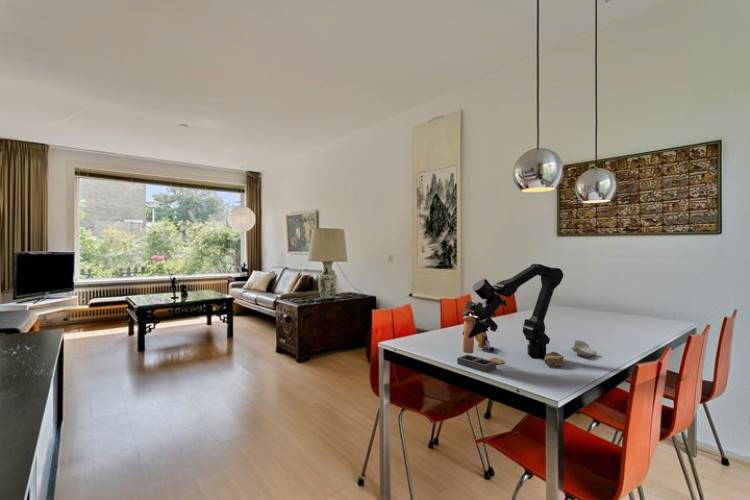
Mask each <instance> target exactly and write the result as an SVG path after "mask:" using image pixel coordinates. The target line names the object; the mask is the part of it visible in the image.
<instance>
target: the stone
mask: <svg viewBox="0 0 750 500" xmlns="http://www.w3.org/2000/svg"><path fill="white" fill-rule="evenodd" d="M543 362H544V364H545V365H547V366H548V367H549V368H556V367H561V366H562V365H563V364H564V355H562V354H560V353H559V352H557V351H551V352H548V353H547V352H546V355H545V357H544V358H543Z"/></svg>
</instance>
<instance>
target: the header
mask: <svg viewBox="0 0 750 500" xmlns="http://www.w3.org/2000/svg"><path fill="white" fill-rule="evenodd" d="M456 359H457V362H456V363H457V365H460V366H462V367H466V368H470V369H474V370H476V371H480V372H482V373H483V372H484V373H488V372H491V371H494V370H496V369H497V365H496V362H494V361H490V360H487V359H485V358H482V357H479V356H475V355H471V354H464V355H462V356H459V357H457V358H456Z"/></svg>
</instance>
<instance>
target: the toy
mask: <svg viewBox="0 0 750 500" xmlns="http://www.w3.org/2000/svg"><path fill="white" fill-rule="evenodd" d="M474 340H475V341H476V342H478V345H477V346H478V350H479V349H481V348H482V349H483V350H485V348H486V347H487V349H488V350H489V351H488V352H494V351H495V350H496V349H495V347H494V346H491V345H490V344H491V343H490V341H489V338H488V335H487V331H486V332H483V333H481V334H478V335H476V336H474Z"/></svg>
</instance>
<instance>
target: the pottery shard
mask: <svg viewBox="0 0 750 500" xmlns="http://www.w3.org/2000/svg"><path fill="white" fill-rule="evenodd" d="M573 342H574V344H573V346H571V347H570V349H571V350H572V351H573V352H574V353H576V354H577V355H578V356H582V357H584V358H585V357H588V358H589V357H592V355H598V354H597V353H598V350H596V349H592V348H591V347H590V345H589V344H588V343H587V342H585V340H582V339H581V340H578V339H577V340H576V339H575V340H574V341H573Z"/></svg>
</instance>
